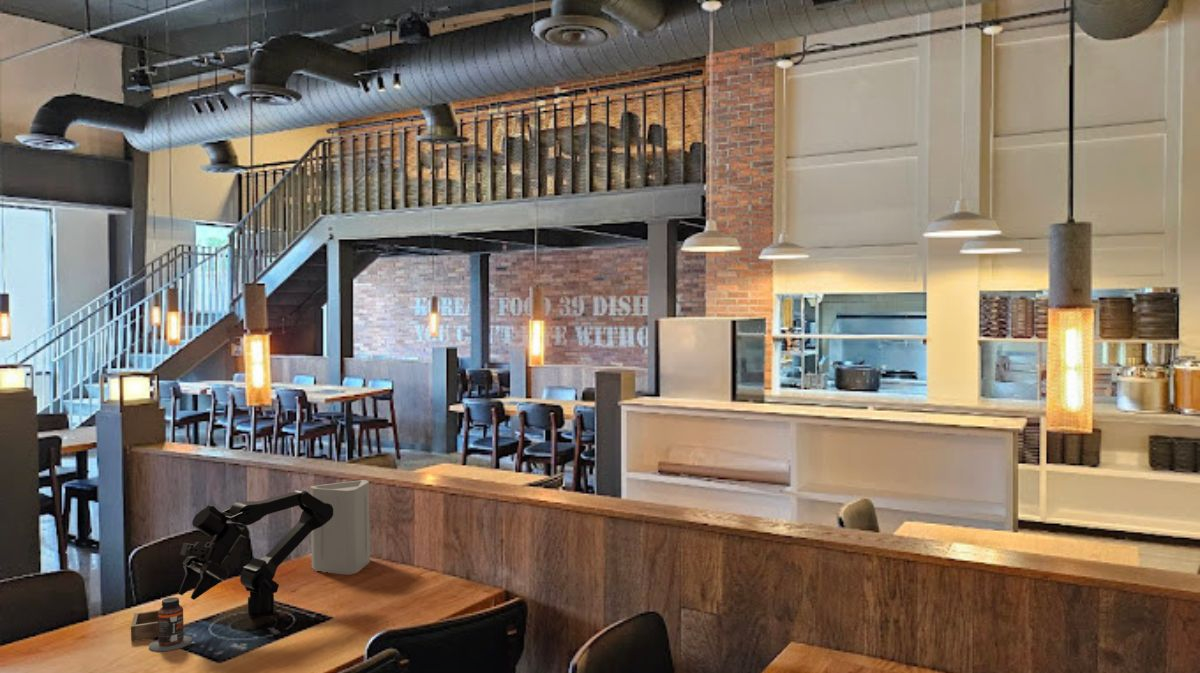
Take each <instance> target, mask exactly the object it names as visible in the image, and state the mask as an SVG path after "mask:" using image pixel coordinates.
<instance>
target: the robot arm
mask: <svg viewBox="0 0 1200 673" xmlns="http://www.w3.org/2000/svg"><path fill="white" fill-rule="evenodd" d="M295 507H299V509H301V511H302V512H301V514H300V518H299V521H298V522H297V523H295V525H294V526H293V527H292V528H291V529H290V530H289V531H288V532H287V533H286V534H285V535H283V537H282V538H281V539H280V540H279V541H278V542H277V543H276V544H275V545H274V546H273V548H272V549H271V550H269V552H267V554H266V555H265V556H263V557H261V558H258V557H253V558H251V560H250V561H249V562H248V563H247V564H246V565H245V566H243V567H242V568H243V570H242V571H241V573H240V577H239V579H240V583H241V585H242V586H244V588H245V591H247V592H249V596H248V597H247V613H248V615H249V618H257V617H262V616H263V617H264V616H270V615H271V616H272V615H275V614H276V611H275V598H274V597H275V595H274V594H276V593H277V592H278V589H279V586H280V584H279V583H278V582H276V581H275V580H273V579H274V577H275V576H276V572H277V569H278V568H279V566H280V565H281V564H282V563H283V562H284V561H285V560H286V559H287V558H288V557H289V556H290V555H291V554H292V552H293V551H295V549H296V548H297V547H299V545H300V544H301V543H302V542H303V541H305V539H306V538H307V537H308V536H309V535H310V534H311V531H313V530H315V529H317V528H319V527H321V526H323V525H324V524H326V523H327V522H328V521H329V520H330V519H331V518H332V517H333V507H332V505H330V504H328V503H324V502H322V501H320V500H319V499H317V498H315V497H313V496H312V495H311V494H310V493H309V491H306V490H301V489H296V490H294V491H292V492H287V493H285V494H280V495H277V496H274V497H270V498H266V499H263V500H256V501H255V500H254V501H253V500H251V501H249V500H248V501H238V502H234V503H233V504H231V507H229V508H227V509H225V510H223V511H219V510H218V509H217V508H216V506H214V505H212V504H208V505H207V506H206V507H205V508H203V509H201V510H200V511H199V512H198V513H196V514H195V516H194V518H193V519H192V522H191V523H192V524H191V525H192V527H193V528H195V529H197V530H198V531H200V532H202V533H204V534H205V535H207V536H208V537H213V536H214V537H213V538H212V540H211V541H207V542H205V543H204V542H202V541H201V542H200V541H195V543H194V544H193V543H187V542H183V544H182V548H181V549H180V550H181V551H180V554H179V555H180V556H183V557H186V558H185V559H184V560H183V562H182V564H183V566H182V567H183V570H184V573H185V574H184V576H183V580H182V583H181V585H180V588H179V591H178V595H180V596H184V595H185V593H187V592H189V591H190V590H191V589H192V588H193V587H194V586H195V585H196V586H195V588H194V590H193V592H192V594H191V596H190V599H191V600H193V601H194V600H196V599H198V598H199V597H200V596H202V595H203V594H204V593H206V592H208V591H209V590H211V589H213V588H214V587H216V586H218V585H219V584H221V583H222V582H223V581H226V580H227V579H228V578H229V575H230V572H229V571H230V570H229V569H228V568H227V567H225V566H223V565H222V564H223V562H224V561H225V559H226V558H227V557H228V558H229V557H231V555H232V552H231V551H232V550H233V548H234V546H235V545H236V543H237V542H238V541H239V539H240V537H242V538H244V539H245V538H246V539H248V538H249V533H248V528H247V527H245V526H250V525H252V524H254V523H257V522H259V521H261V519H263V518H264V517H265V516H267V515H271V514H274V513H278V512H281V511H284V510H288V509H291V508H295ZM228 522H230V523H228ZM239 525H243V526H242V527H240V526H239Z"/></svg>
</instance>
